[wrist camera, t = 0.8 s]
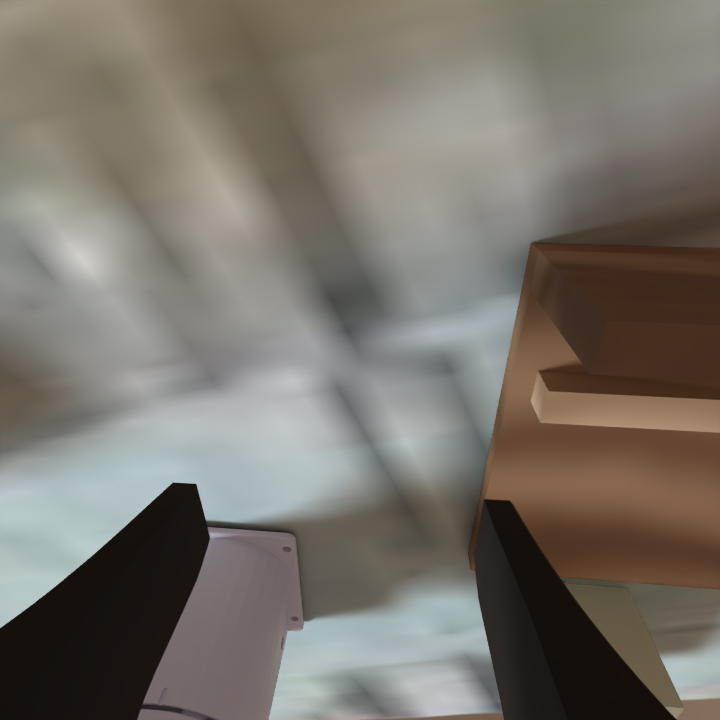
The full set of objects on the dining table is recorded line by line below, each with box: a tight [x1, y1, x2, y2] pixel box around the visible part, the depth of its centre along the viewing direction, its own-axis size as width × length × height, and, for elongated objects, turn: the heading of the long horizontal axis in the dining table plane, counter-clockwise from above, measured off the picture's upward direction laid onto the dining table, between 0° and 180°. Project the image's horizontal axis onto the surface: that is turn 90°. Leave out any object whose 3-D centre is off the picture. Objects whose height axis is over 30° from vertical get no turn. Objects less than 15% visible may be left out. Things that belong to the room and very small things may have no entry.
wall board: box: [468, 243, 720, 589], centre depth 17 cm, size 18×16×7 cm
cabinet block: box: [564, 583, 684, 718], centre depth 25 cm, size 8×5×6 cm, turn 0°
